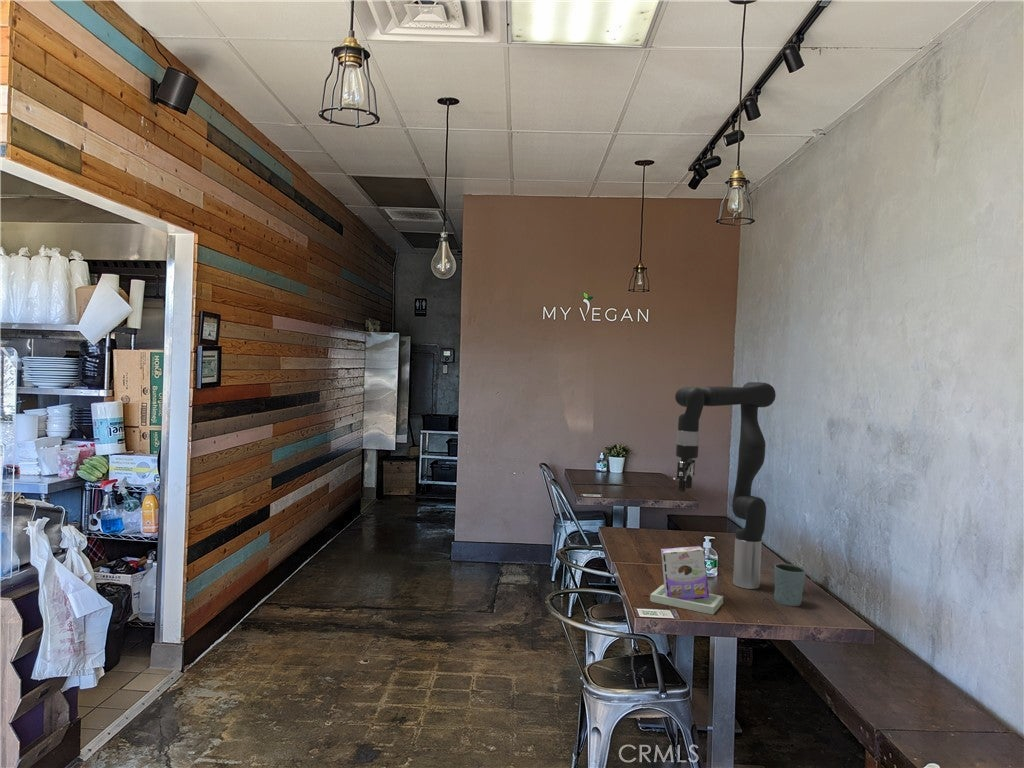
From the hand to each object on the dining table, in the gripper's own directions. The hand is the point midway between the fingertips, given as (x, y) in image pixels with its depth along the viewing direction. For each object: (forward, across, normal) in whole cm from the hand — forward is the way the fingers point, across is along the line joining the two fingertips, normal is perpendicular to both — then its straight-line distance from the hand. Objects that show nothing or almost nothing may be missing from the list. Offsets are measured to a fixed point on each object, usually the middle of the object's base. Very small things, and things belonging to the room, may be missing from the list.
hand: (685, 489), depth 237 cm
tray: (+36, +10, +5) cm, 38 cm away
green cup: (+36, -13, +34) cm, 51 cm away
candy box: (+35, +10, +5) cm, 36 cm away
